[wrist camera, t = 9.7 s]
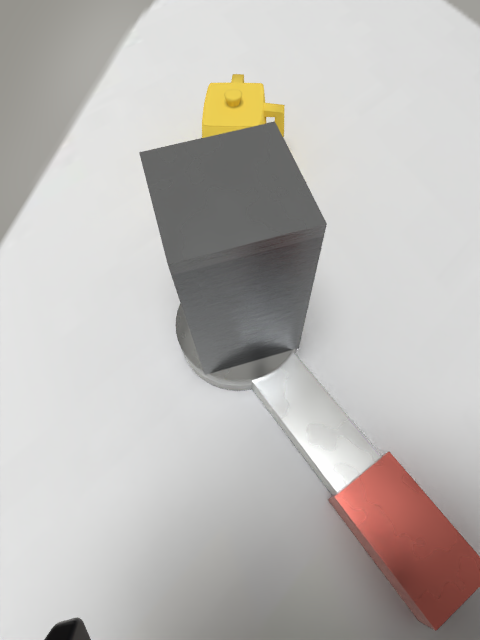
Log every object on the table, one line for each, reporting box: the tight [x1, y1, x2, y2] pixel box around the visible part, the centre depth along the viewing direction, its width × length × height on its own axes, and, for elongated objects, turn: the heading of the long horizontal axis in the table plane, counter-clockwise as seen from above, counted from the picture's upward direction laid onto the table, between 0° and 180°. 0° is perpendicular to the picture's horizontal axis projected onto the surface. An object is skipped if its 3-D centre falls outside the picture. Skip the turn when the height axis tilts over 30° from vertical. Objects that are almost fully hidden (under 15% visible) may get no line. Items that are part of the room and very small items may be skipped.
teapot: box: [202, 74, 284, 138], centre depth 29 cm, size 8×6×5 cm
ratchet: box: [176, 304, 480, 631], centre depth 20 cm, size 20×7×4 cm, turn 35°
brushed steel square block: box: [139, 122, 327, 375], centre depth 18 cm, size 5×5×10 cm
